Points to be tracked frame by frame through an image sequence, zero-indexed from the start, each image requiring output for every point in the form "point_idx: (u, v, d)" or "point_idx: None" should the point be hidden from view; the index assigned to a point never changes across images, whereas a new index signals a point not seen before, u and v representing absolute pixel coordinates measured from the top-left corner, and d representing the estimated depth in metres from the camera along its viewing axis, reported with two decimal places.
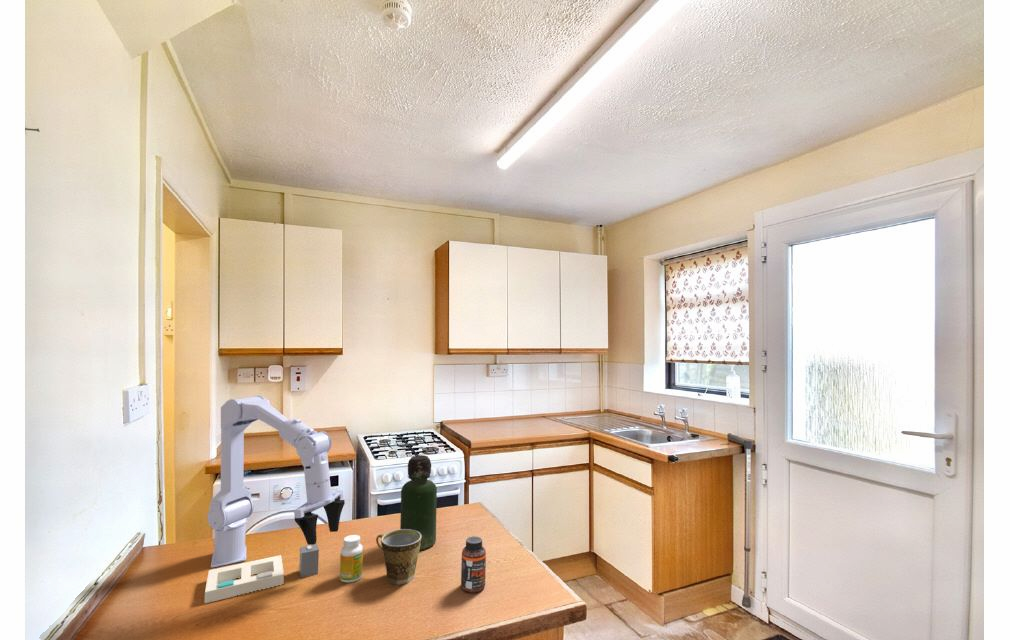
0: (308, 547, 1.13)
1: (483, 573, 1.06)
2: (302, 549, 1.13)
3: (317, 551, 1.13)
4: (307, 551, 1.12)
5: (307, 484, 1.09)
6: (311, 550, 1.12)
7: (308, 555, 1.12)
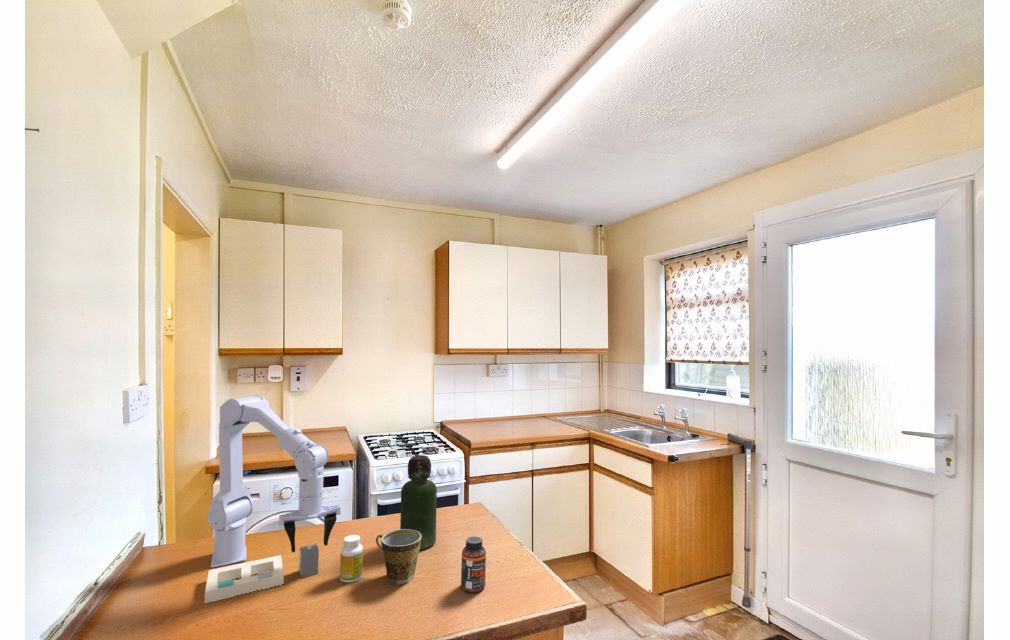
0: (308, 547, 1.13)
1: (483, 573, 1.06)
2: (302, 549, 1.13)
3: (317, 551, 1.13)
4: (307, 551, 1.12)
5: (299, 494, 1.13)
6: (311, 550, 1.12)
7: (308, 555, 1.12)
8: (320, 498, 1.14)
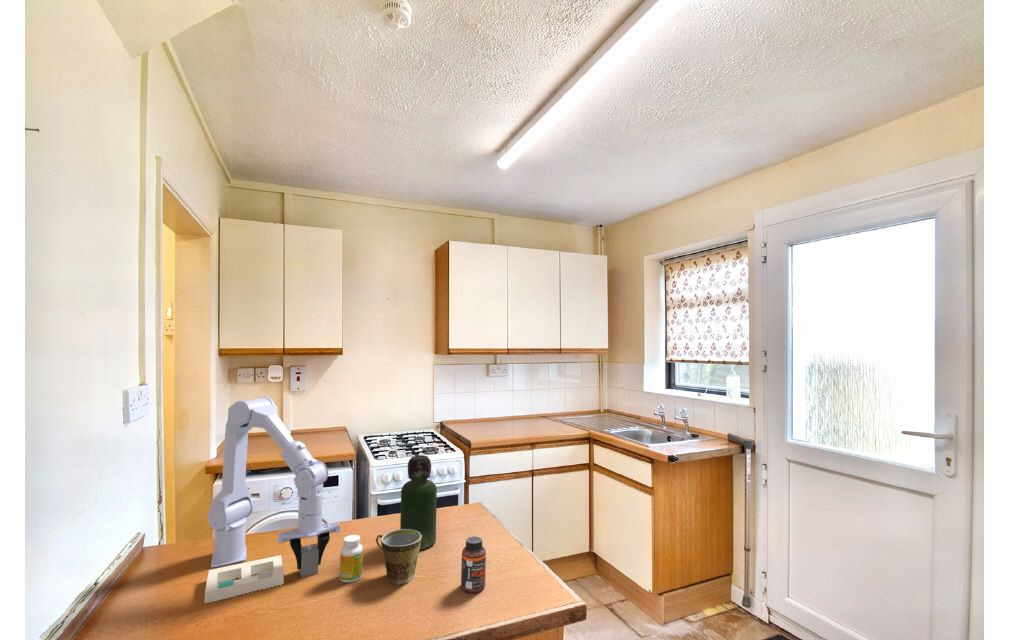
0: (308, 547, 1.13)
1: (483, 573, 1.06)
2: (302, 549, 1.13)
3: (317, 551, 1.13)
4: (307, 551, 1.12)
5: None
6: (311, 550, 1.12)
7: (308, 555, 1.12)
8: (319, 516, 1.13)
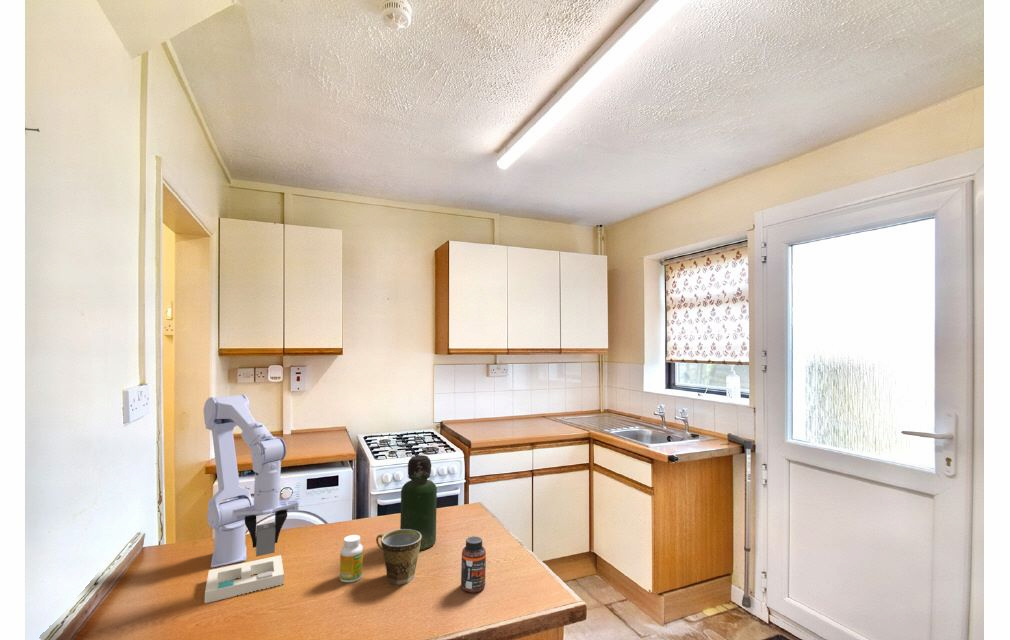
0: (264, 525, 1.10)
1: (483, 573, 1.06)
2: (258, 527, 1.09)
3: (274, 529, 1.09)
4: (263, 529, 1.08)
5: None
6: (267, 528, 1.09)
7: (264, 533, 1.08)
8: (276, 493, 1.10)
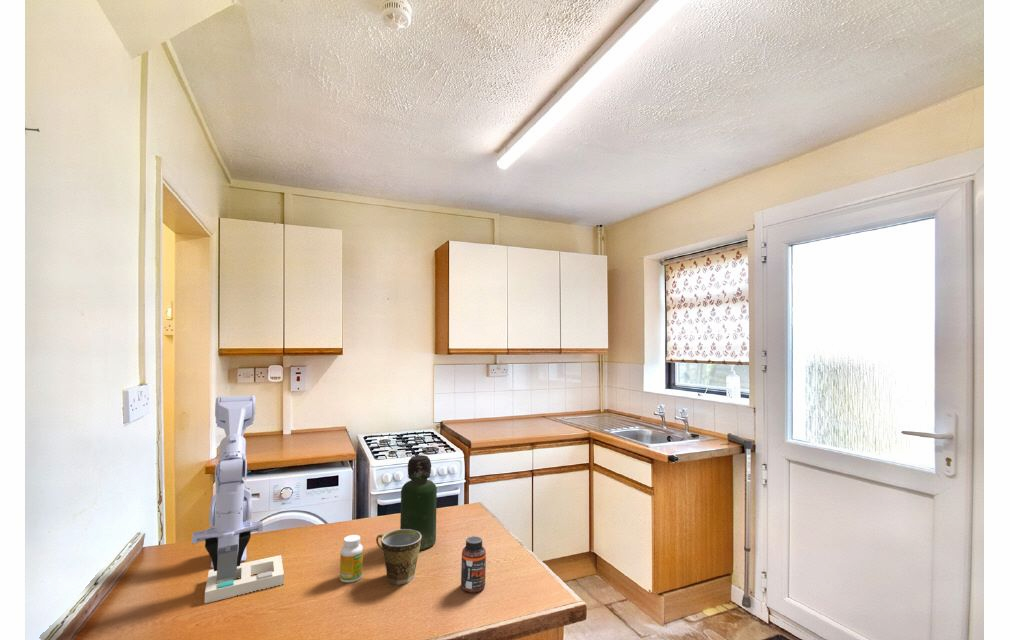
0: (226, 548, 1.06)
1: (483, 573, 1.06)
2: (220, 550, 1.06)
3: (236, 552, 1.05)
4: (224, 552, 1.05)
5: None
6: (229, 551, 1.05)
7: (226, 557, 1.04)
8: (239, 514, 1.06)
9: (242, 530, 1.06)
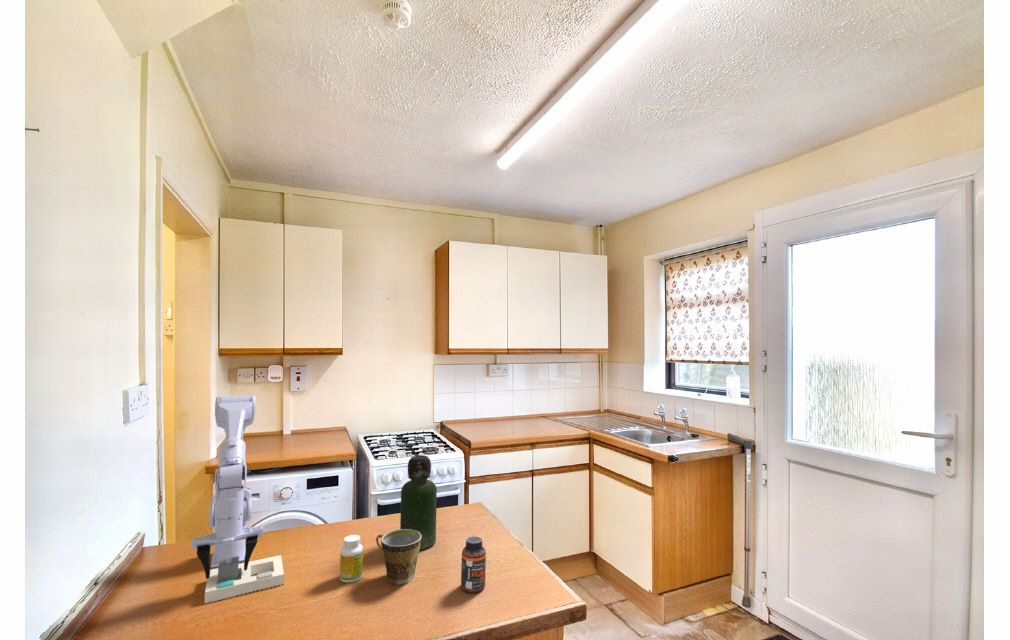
0: (227, 560, 1.06)
1: (483, 573, 1.06)
2: (221, 562, 1.06)
3: (236, 565, 1.05)
4: (225, 565, 1.05)
5: None
6: (229, 564, 1.05)
7: (226, 569, 1.04)
8: (238, 520, 1.06)
9: (242, 536, 1.06)
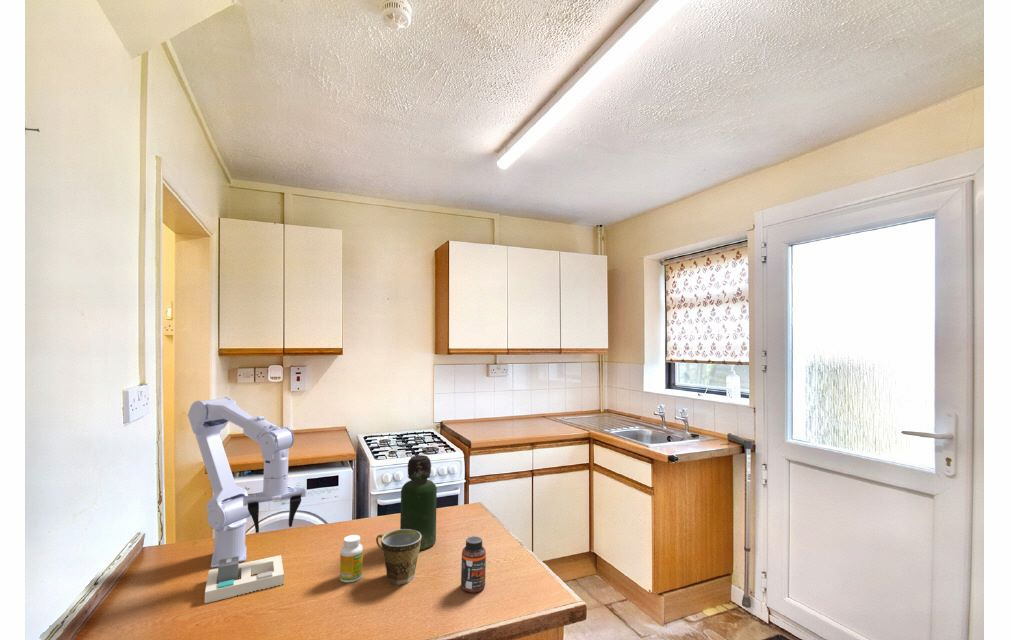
0: (227, 560, 1.06)
1: (483, 573, 1.06)
2: (221, 562, 1.06)
3: (236, 565, 1.05)
4: (225, 565, 1.05)
5: None
6: (229, 564, 1.05)
7: (226, 569, 1.04)
8: (284, 480, 1.15)
9: (288, 494, 1.15)
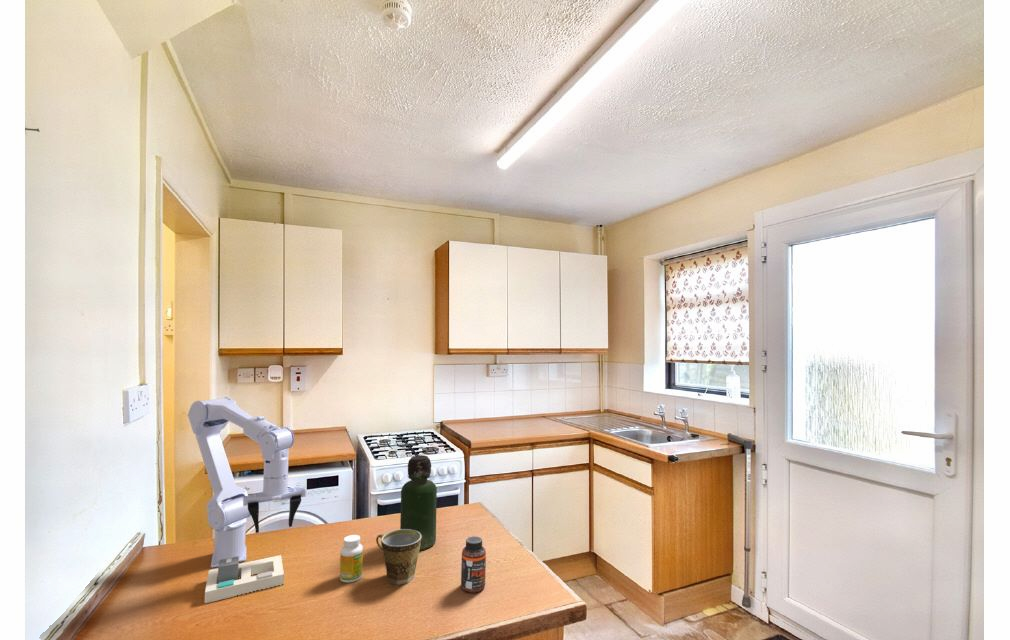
0: (227, 560, 1.06)
1: (483, 573, 1.06)
2: (221, 562, 1.06)
3: (236, 565, 1.05)
4: (225, 565, 1.05)
5: None
6: (229, 564, 1.05)
7: (226, 569, 1.04)
8: (284, 480, 1.15)
9: (288, 494, 1.15)
